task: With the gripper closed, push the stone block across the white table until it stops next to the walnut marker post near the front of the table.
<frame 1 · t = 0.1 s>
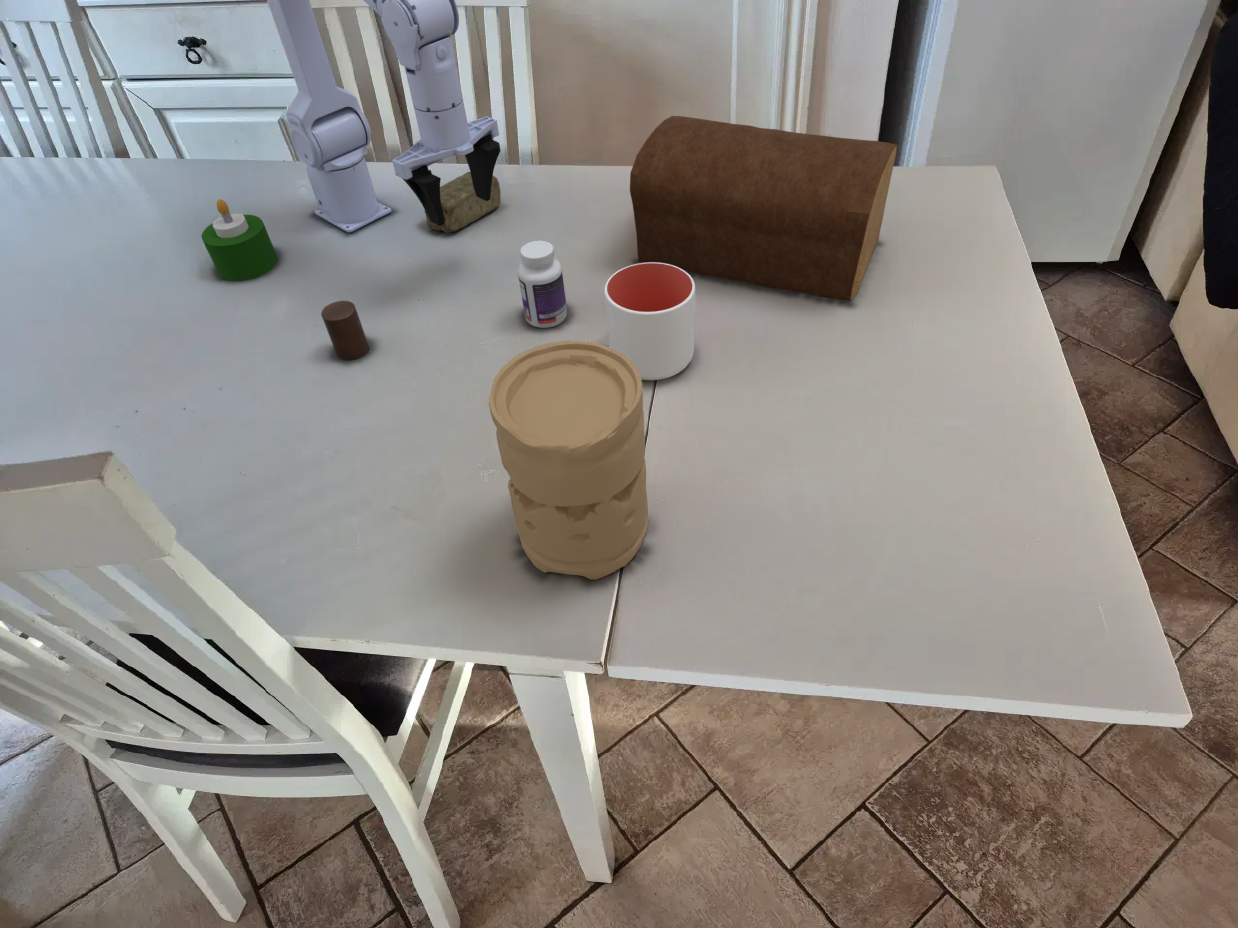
hand: (460, 210, 103), 10 cm above the table, tool pointing down, fingers open, 7 cm apart
pill bottle: (546, 317, 104), on the table
cup: (651, 359, 97), on the table
marker post: (352, 350, 101), on the table
bread: (756, 254, 111), on the table
candle: (248, 265, 116), on the table
container: (584, 529, 79), on the table
stone block: (465, 217, 122), on the table
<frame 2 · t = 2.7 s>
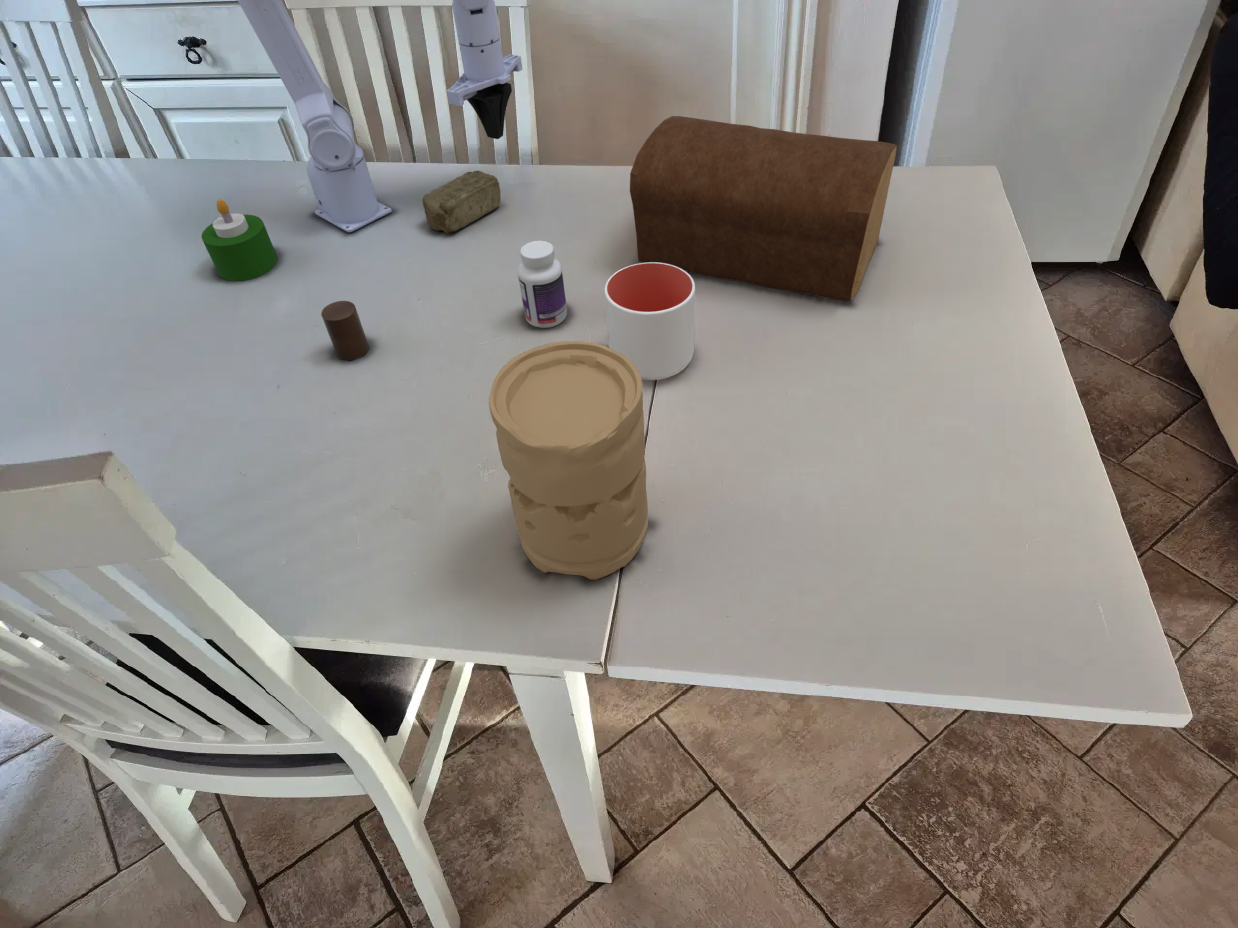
hand: (495, 136, 121), 8 cm above the table, tool pointing down, fingers closed
nothing on the table moved.
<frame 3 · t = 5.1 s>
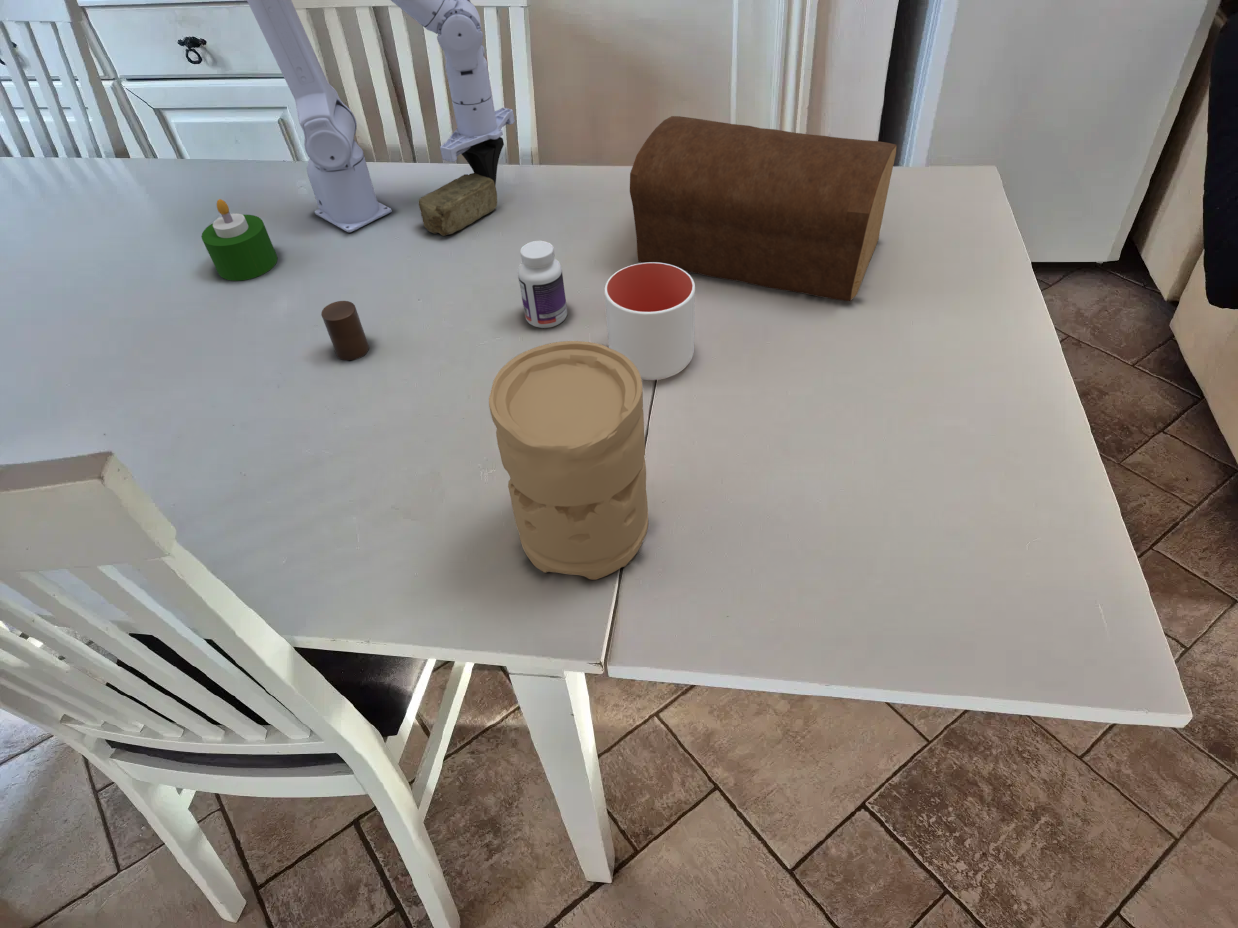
hand: (488, 187, 124), 2 cm above the table, tool pointing down, fingers closed
stone block: (462, 220, 122), on the table, touching gripper
everything else where it was.
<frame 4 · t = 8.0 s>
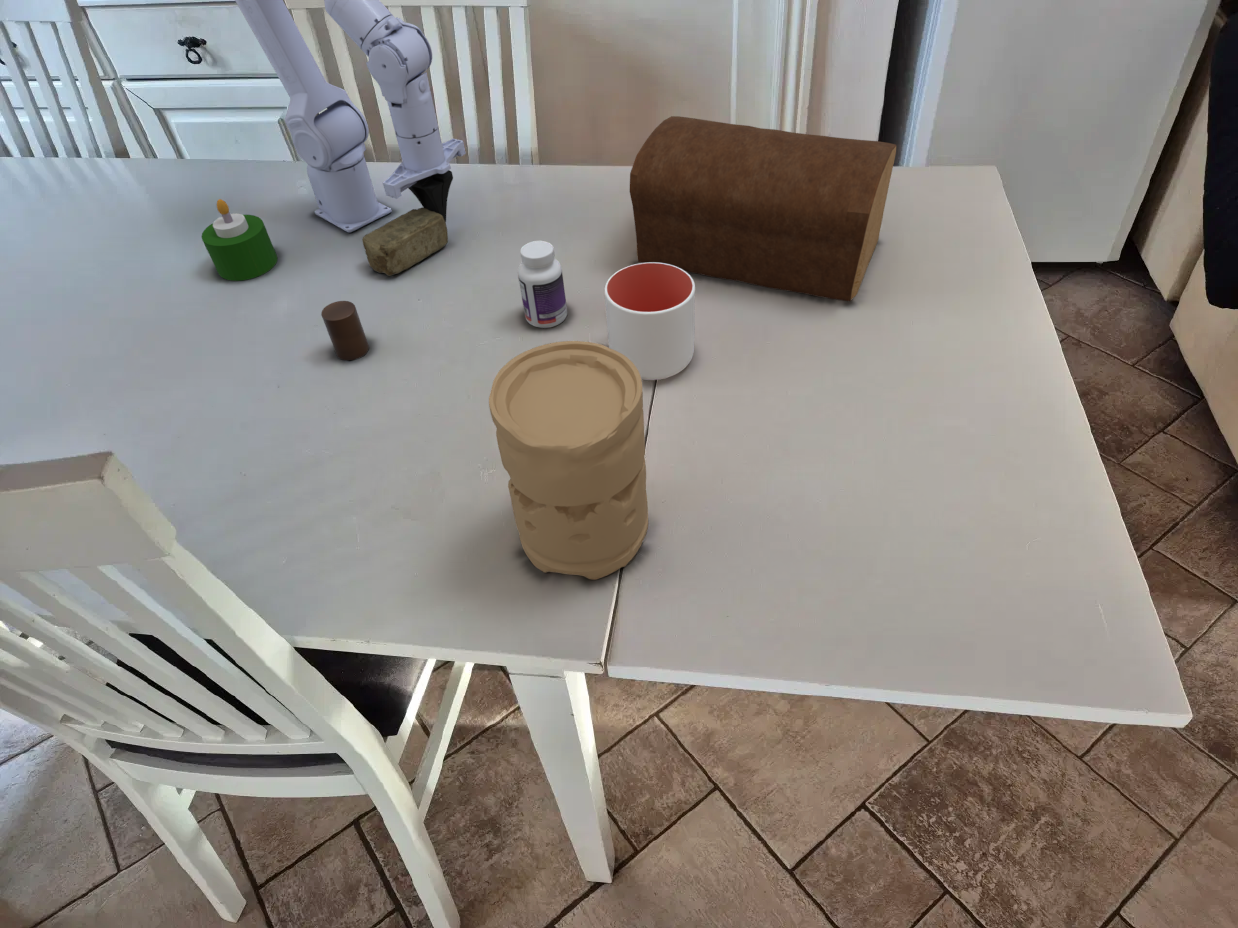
hand: (438, 221, 118), 2 cm above the table, tool pointing down, fingers closed
stone block: (410, 258, 115), on the table, touching gripper
everything else where it was.
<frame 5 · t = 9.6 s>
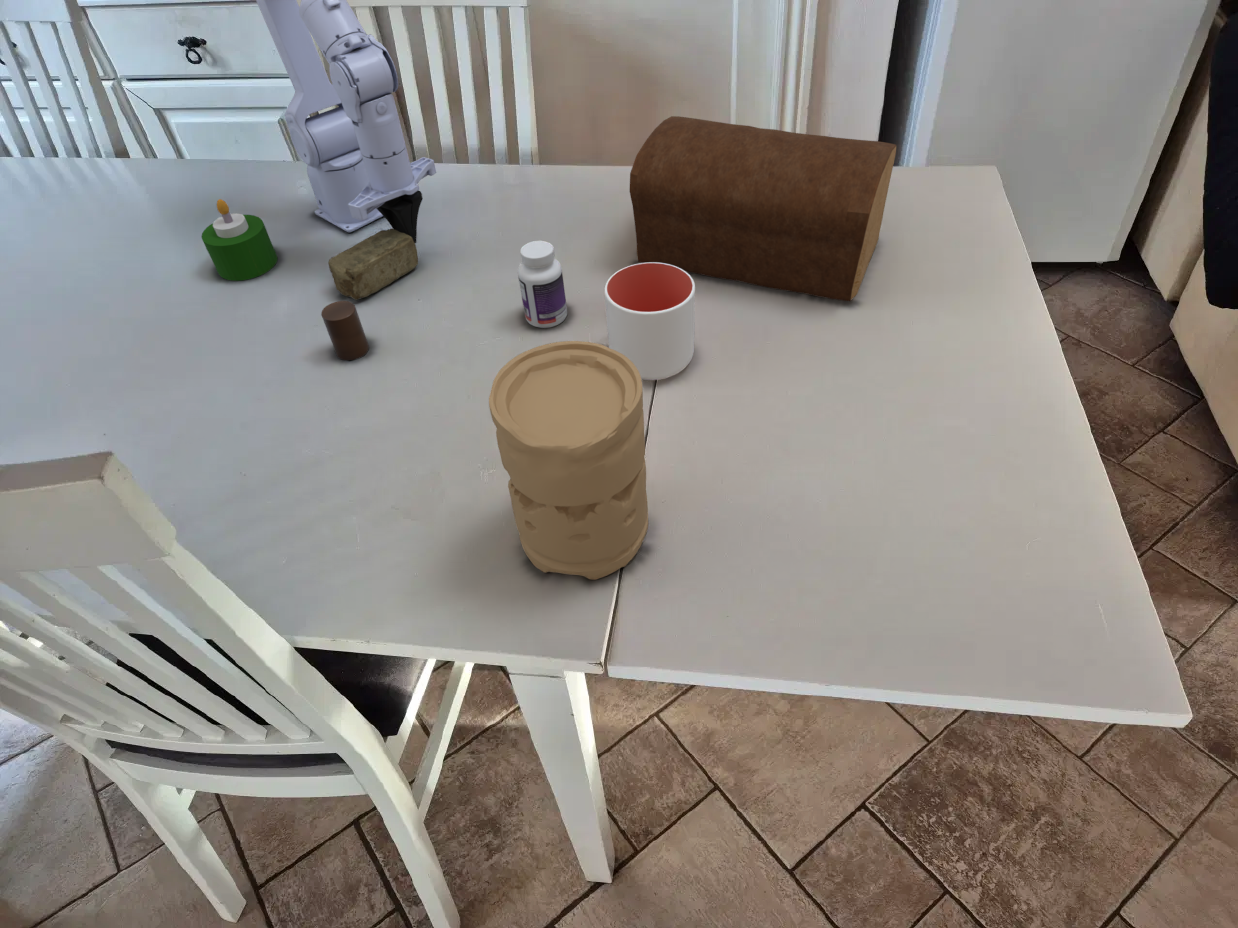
hand: (408, 242, 114), 2 cm above the table, tool pointing down, fingers closed
stone block: (379, 280, 112), on the table, touching gripper
everything else where it was.
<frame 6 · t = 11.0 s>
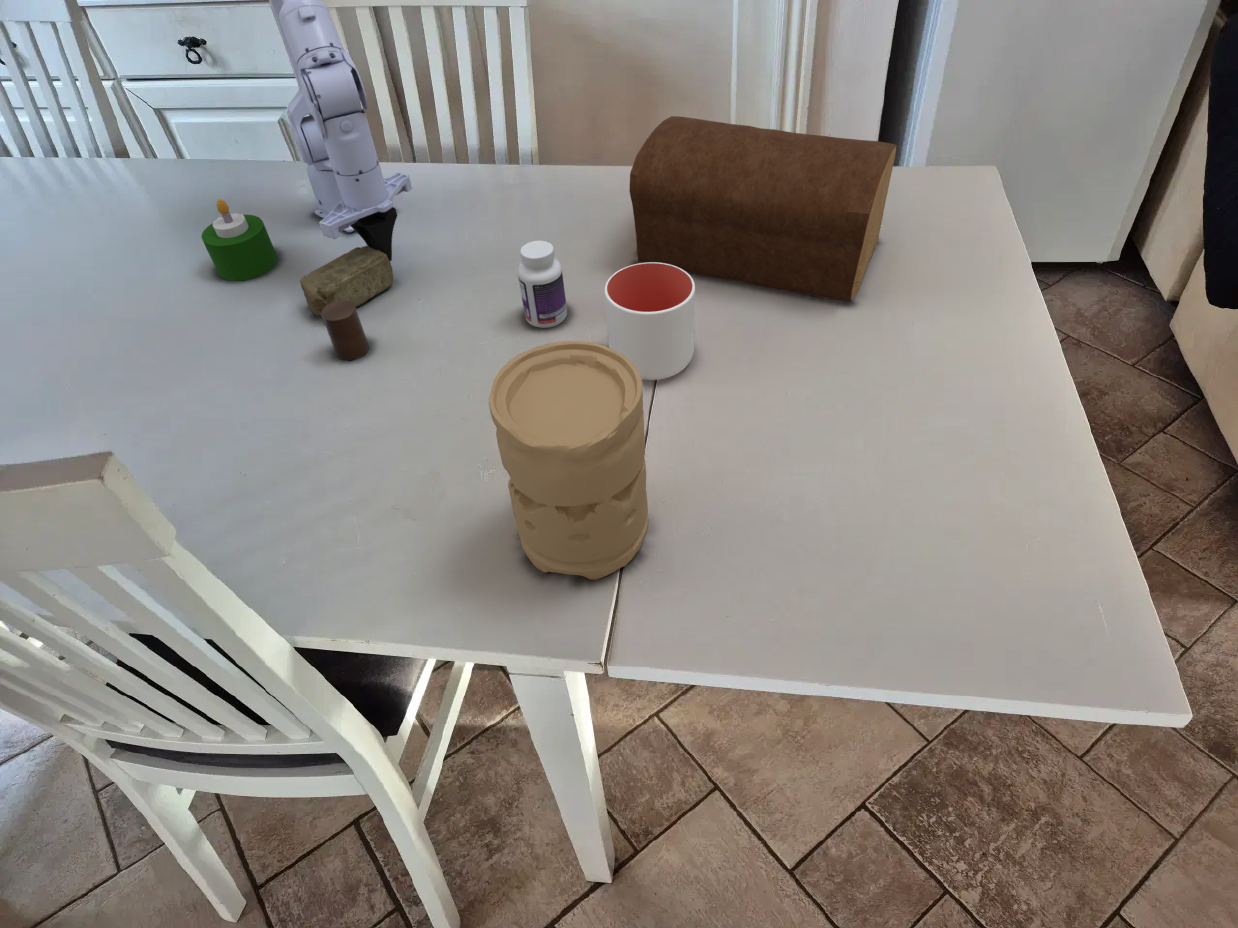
hand: (384, 260, 111), 2 cm above the table, tool pointing down, fingers closed
stone block: (353, 299, 109), on the table, touching gripper
everything else where it was.
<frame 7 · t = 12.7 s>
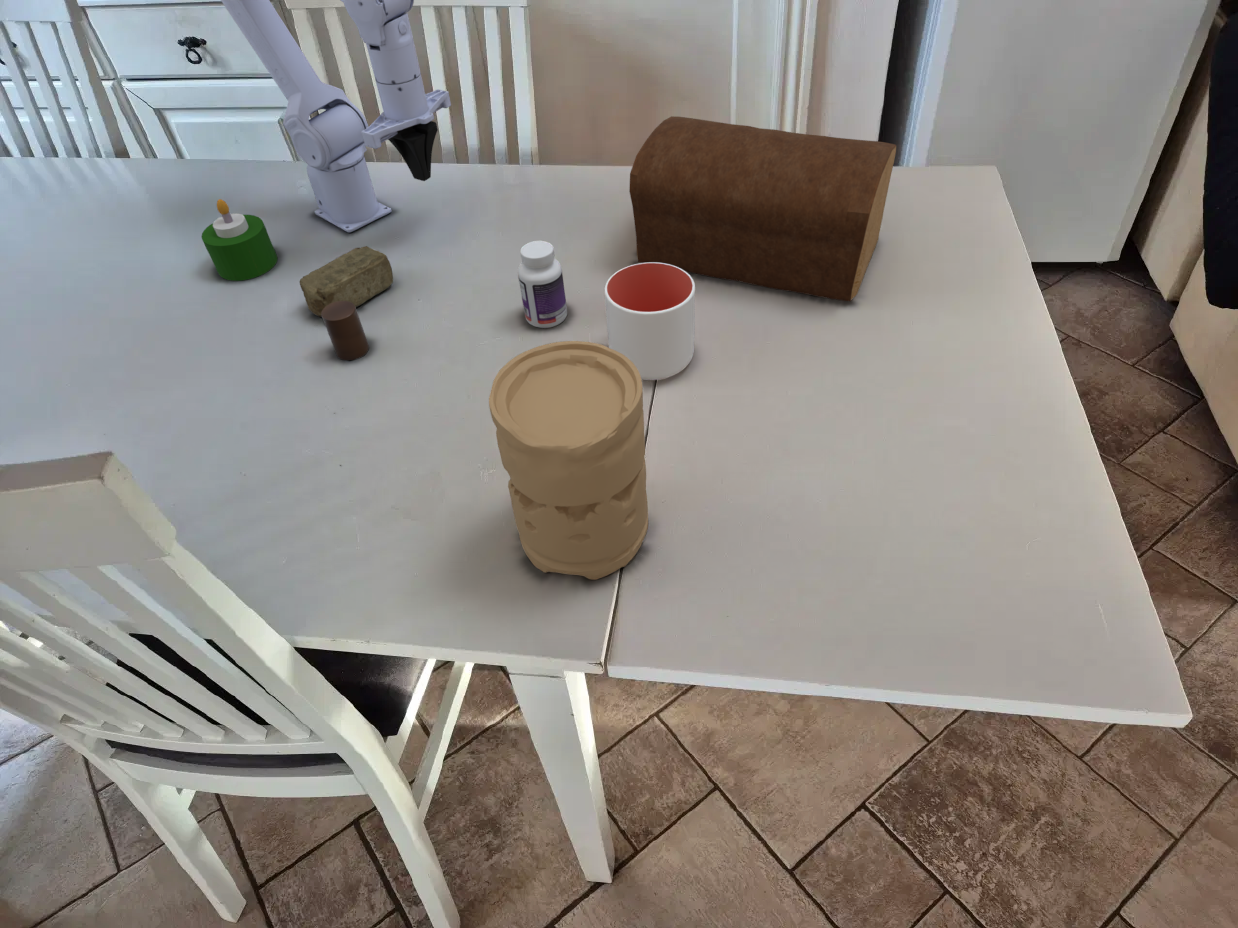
hand: (422, 177, 112), 9 cm above the table, tool pointing down, fingers closed
stone block: (353, 299, 109), on the table
everything else where it was.
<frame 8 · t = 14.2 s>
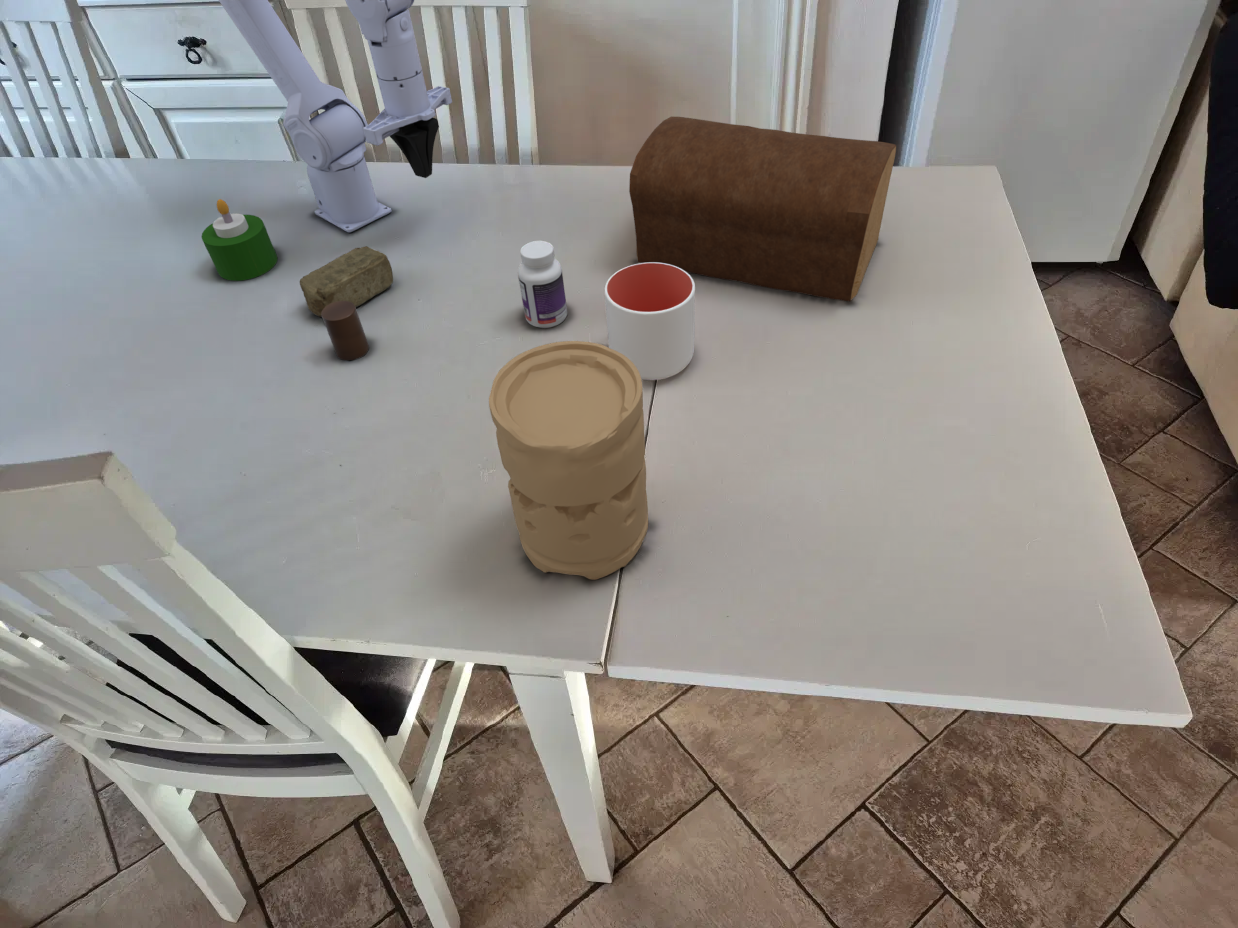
hand: (423, 174, 112), 9 cm above the table, tool pointing down, fingers closed
nothing on the table moved.
at the end: stone block inside the target area (1.4 cm from its centre), on the table; stone block 11.7 cm from the marker post (horizontally); stone block tilted 0° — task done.
